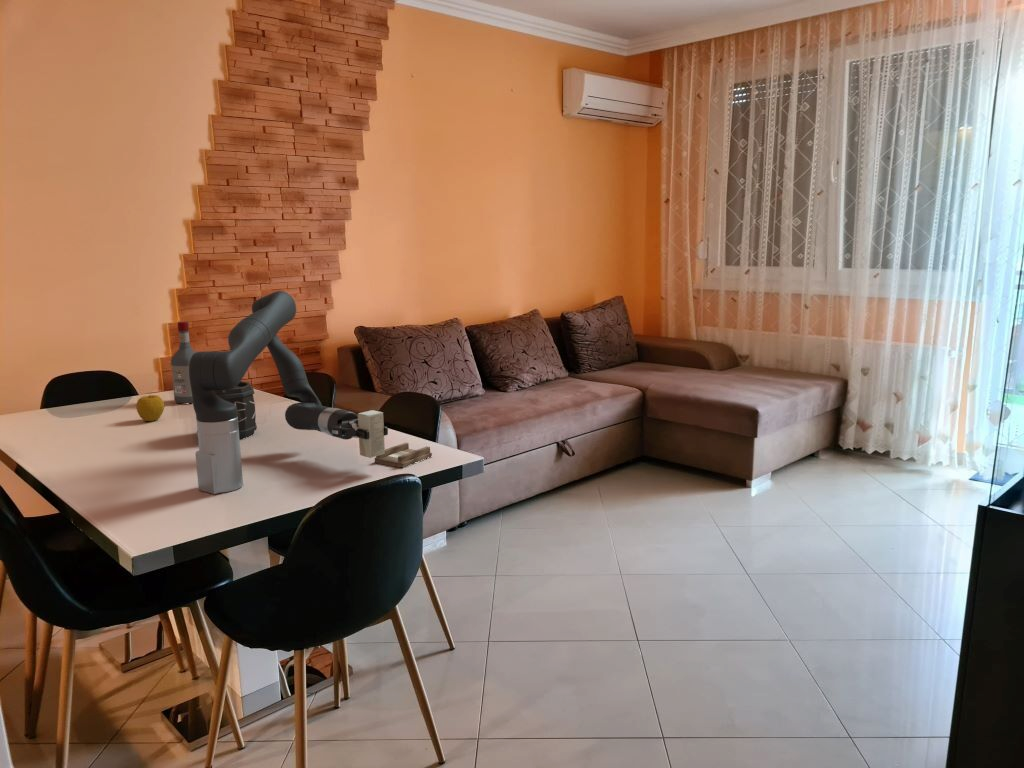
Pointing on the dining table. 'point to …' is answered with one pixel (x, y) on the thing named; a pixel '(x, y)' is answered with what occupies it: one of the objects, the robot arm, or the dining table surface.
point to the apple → (150, 407)
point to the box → (372, 433)
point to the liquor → (182, 366)
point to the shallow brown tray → (403, 455)
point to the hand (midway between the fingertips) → (377, 433)
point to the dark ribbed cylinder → (242, 407)
